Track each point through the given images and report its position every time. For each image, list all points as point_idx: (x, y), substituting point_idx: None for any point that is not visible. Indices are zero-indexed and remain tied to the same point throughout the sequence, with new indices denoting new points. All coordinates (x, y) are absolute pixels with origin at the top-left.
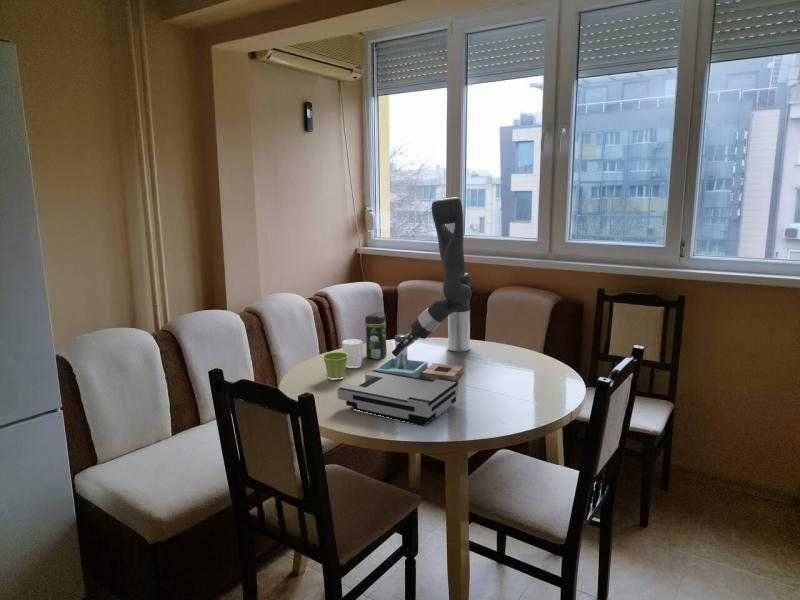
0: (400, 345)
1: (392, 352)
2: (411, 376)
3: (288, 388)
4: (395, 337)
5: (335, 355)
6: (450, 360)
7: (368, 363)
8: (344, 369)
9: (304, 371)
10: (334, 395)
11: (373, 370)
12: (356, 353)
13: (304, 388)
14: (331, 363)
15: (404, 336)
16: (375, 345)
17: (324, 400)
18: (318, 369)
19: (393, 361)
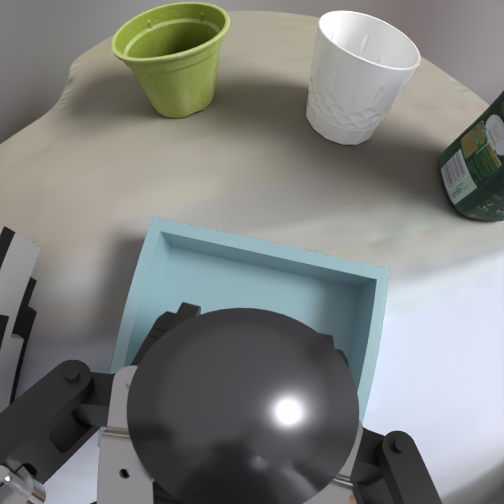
0: (78, 408)
1: (182, 309)
2: None
3: (108, 41)
4: (166, 334)
5: (221, 25)
6: (466, 495)
7: (391, 167)
8: (164, 94)
9: (248, 23)
10: (29, 151)
11: (12, 233)
12: (327, 84)
13: (99, 64)
14: (125, 46)
15: (220, 485)
16: (477, 157)
17: (7, 144)
18: (273, 41)
19: (368, 290)
